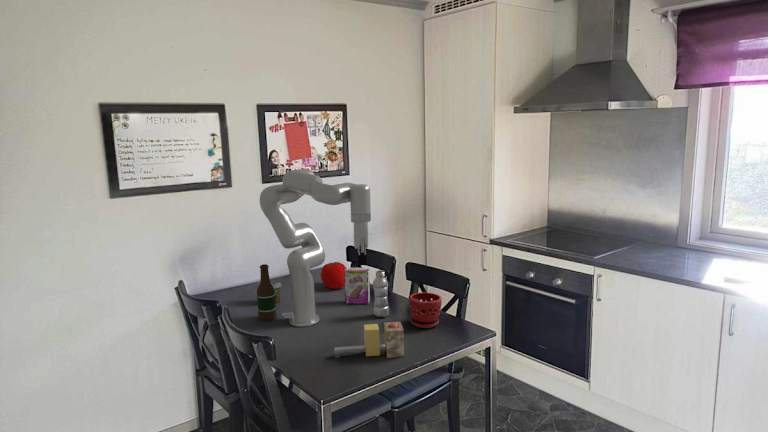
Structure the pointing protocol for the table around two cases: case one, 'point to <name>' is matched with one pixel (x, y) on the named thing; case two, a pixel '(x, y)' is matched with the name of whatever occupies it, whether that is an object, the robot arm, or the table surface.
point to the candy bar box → (357, 286)
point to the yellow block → (372, 339)
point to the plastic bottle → (380, 294)
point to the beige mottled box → (394, 340)
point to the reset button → (393, 325)
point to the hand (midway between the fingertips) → (362, 264)
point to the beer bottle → (266, 297)
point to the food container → (277, 290)
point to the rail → (356, 349)
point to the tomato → (333, 275)
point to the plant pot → (425, 309)
